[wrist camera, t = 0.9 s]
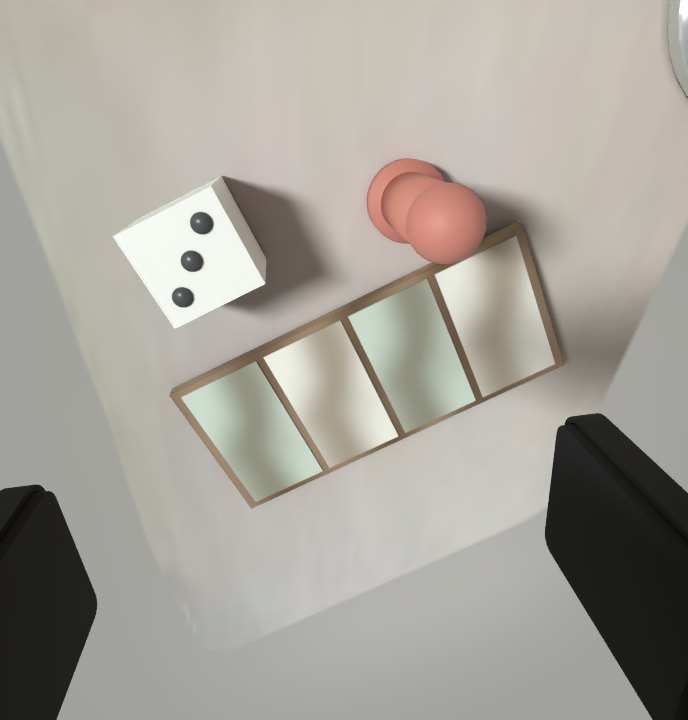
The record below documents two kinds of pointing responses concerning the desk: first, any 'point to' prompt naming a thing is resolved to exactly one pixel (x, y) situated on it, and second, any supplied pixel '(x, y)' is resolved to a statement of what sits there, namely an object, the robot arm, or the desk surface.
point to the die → (195, 252)
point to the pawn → (426, 211)
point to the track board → (375, 369)
